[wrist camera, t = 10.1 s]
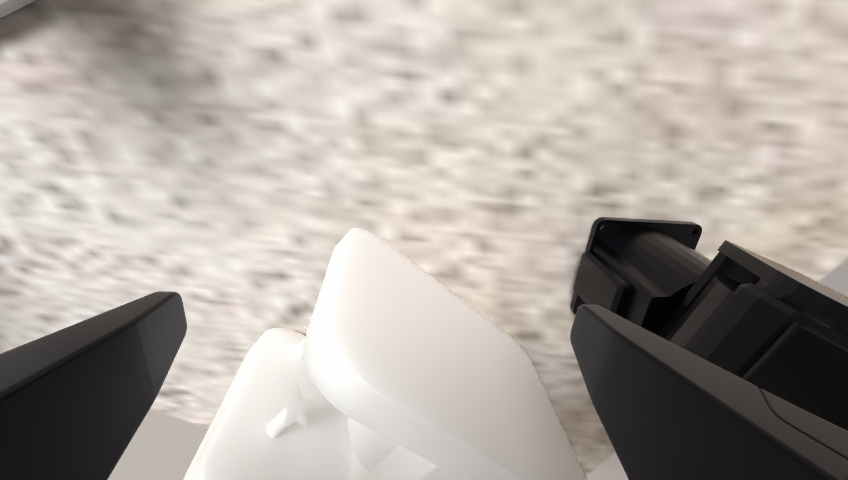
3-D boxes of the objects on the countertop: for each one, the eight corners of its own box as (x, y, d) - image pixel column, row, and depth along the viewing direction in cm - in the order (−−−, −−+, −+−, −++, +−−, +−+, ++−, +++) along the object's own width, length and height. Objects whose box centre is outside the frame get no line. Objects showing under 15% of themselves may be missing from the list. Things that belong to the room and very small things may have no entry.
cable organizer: (534, 346, 26) (628, 534, 16) (429, 435, 29) (450, 646, 19) (357, 210, 22) (322, 350, 11) (252, 332, 24) (143, 538, 14)
